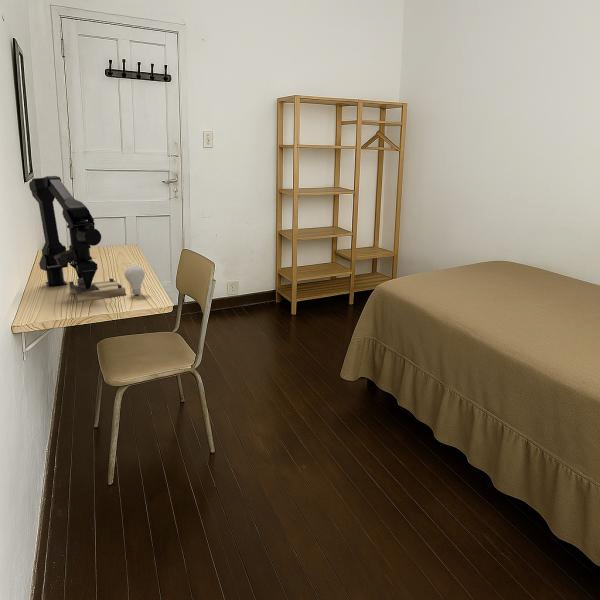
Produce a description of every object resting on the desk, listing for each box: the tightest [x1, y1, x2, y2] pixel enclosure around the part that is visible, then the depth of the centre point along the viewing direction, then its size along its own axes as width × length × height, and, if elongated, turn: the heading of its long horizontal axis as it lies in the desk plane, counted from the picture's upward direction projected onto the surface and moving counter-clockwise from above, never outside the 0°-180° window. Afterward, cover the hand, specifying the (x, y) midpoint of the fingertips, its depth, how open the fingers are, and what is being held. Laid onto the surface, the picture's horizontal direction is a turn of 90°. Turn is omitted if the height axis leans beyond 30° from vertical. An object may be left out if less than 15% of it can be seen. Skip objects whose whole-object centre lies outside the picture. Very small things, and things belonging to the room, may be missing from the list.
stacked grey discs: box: [76, 278, 93, 293], centre depth 186 cm, size 5×5×6 cm
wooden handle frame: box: [68, 278, 127, 303], centre depth 188 cm, size 14×16×4 cm
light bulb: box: [124, 264, 146, 296], centre depth 185 cm, size 7×7×11 cm
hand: (84, 286), depth 186 cm, fingers open, 9 cm apart
